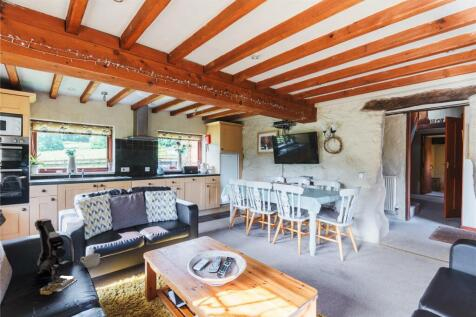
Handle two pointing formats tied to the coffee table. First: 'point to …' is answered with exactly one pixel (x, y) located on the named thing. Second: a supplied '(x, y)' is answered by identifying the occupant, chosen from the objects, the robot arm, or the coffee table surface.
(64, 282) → the knob backplate
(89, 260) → the teacup
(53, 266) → the pin
